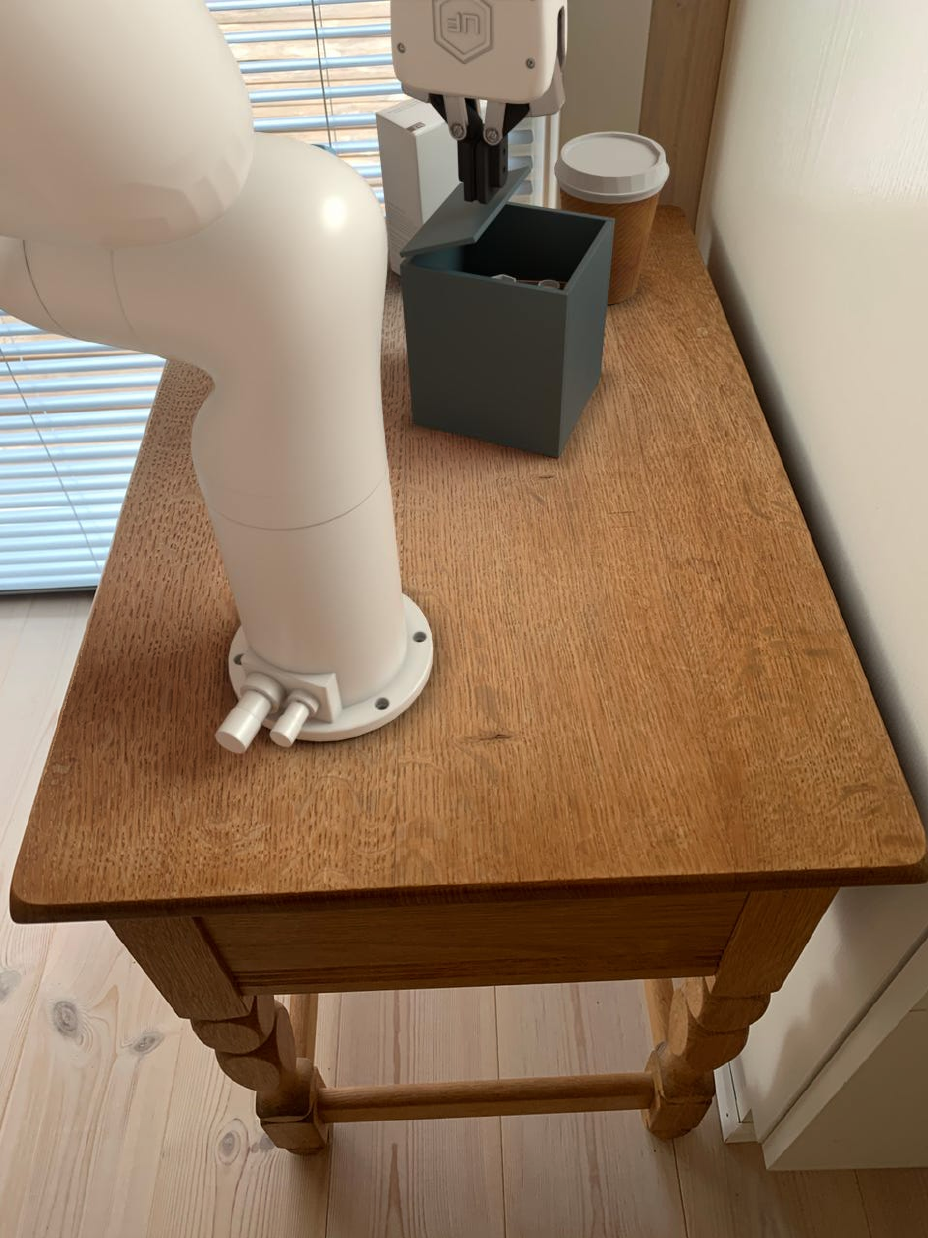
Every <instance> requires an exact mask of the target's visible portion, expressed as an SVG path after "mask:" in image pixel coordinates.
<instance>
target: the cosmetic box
mask: <svg viewBox="0 0 928 1238" xmlns="http://www.w3.org/2000/svg"><path fill="white" fill-rule="evenodd" d="M479 101H480V107H481V119H482V120H483V123H485V115H486V107H487V101H486V100H479ZM374 114H375V123H376V132H377V143H378V153H379V163H380V171H381V173H380V174H381V179H382V180H381V181H382V191H383V201H384V212H385V223H386V231H387V242H388V247H389V248H388V251H389V258H390V259H389V261H390V267H391V270H392V272H393V273H396V275H398V276H400V277H401V274H400V264H401V263H402V262H403V260H404V259H405V258H406V257H404V258H401V256H400V254H399V252H400V251H401V250H402V249H403V248H404V247H405V246H406V244H407V243H408V242H409V241H410V240H411V239H412V237H413V236H414V235H415V234H416V233H417V232H418V231H419V229H420V228H421V227H422V226H423V225H424V224H425V223H426V221H427V220H428V219H429V218H430V217H431V216H432V214H433V213H434V212H435V211H436V210H437V209H438V208H439V206H440V205H441V204H442V203H443V202H444V201H445V200H446V198H447V197H448V196H449V195H450V194H451V193H452V191H453V190H454V189H455V188H456V187H457V186H458V185H459V183H462V182H460V181H459V178H458V154H457V140H455V139H454V138H453V137H452V136H451V135H450V132H449V127H448V124H447V123H446V122H445V121H444V119H443V118H442V117H441V116H440V115H439V113H438V112H437V111H436V110H435V109H434V107H433V106H432V105H431V104H430V103H428V104H427V103H424V102H422V101H420V100H417V99H415V98H412V97H411V98H410V99H406V100H404V101H402V102H400V103H397V104H394V105H392V106H389V107H386V108H384V109H381V110H379V111H376V112H375V113H374Z"/></svg>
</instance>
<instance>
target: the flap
mask: <svg viewBox="0 0 928 1238" xmlns="http://www.w3.org/2000/svg"><path fill="white" fill-rule="evenodd" d="M531 172H532V169H531V166H530V165H528V166H524V167H523V166H522V167H520V168H515V169H511V170H508V177H507V181H506V184H505V185H504V187H503V188H500V190H499V191H498V192H497V193H496V195H495V196H494V197H493V198H492V200H491V201H490V202H489V203H488V204H487V205H486V204H480V203H479V201H477V200H476V201H473V202H467V201H464V183H463V182H462V183H459V185H458V186H457V187H456V188H455V189H454V190H453V191H452V193H451V194H450V195H449V196H448V197H447V198H446V200H445V201H444V202H443V203H442V204H441V205H440V206H439V208H438V209H437V210H436V211H435V212H434V213H433V214H432V216H431V217H430V218H429V219H428V220H427V221H426V223H425V224H424V225H423V226H422V227H421V228H420V229H419V231H418V232H417V233H416V234H415V235H414V236H413V237H412V239H411V240H410V241H409V242H408V243H407V244H406V246H405V247H404V248H403V249H402V250H401V251H400V252H399V254H400V256H401V258H404V257H409V256H414V255H418V254H423V253H428V252H433V251H438V250H442V249H447V248H452V247H457V246H461V245H466V244H471V243H475V242H476V241H477V240H478V239H479V237H480V236H481V235H482V234H483V232H484V231H485V230H486V228H487V227H488V226H489V225H490V223H491V222H492V221H493V219H494V218H495V217H496V216H497V214H498V213H499V212H500V210H501V209H502V208H503V207H504V205H505V204H506V203H507V201H509V200H510V199H511V198H512V196H513V195H515V193H516V192H517V190H518V189H519V187H521V185H522V184H523V182H525V180H526V179H527V178H528V176H529V175H530V173H531Z"/></svg>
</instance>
